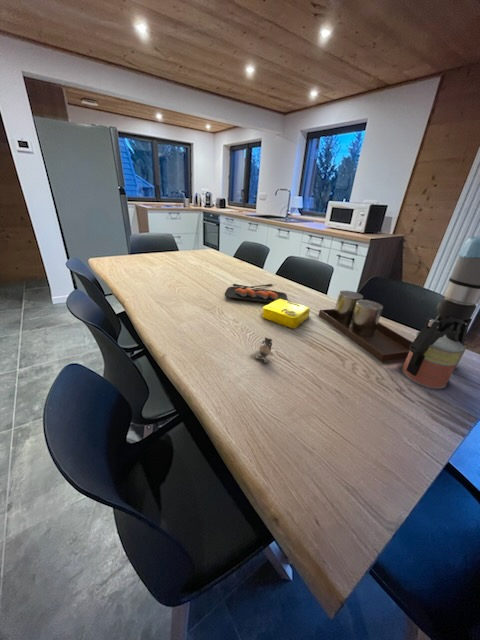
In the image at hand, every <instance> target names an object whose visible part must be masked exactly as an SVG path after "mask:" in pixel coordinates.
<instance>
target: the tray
mask: <svg viewBox="0 0 480 640" xmlns="http://www.w3.org/2000/svg"><path fill="white" fill-rule="evenodd" d="M334 311H335V308H327V309H319V311H318V316H319V317H320V318H322V319H323V320H324V321H326V322H327V323H328V324H329V325H331V326H332V327H333V328H335V329H336V330H337V331H339V332H340V333H342V335H344V337H347V338H348V339H349V340H351V341H352V342H353V343H355V344H356V345H357V346H359V348H361V349H363V350H364V351H366V352H367V353H368V354H370V355H371V356H372V357H373V358H375V359H376V360H377V361H379V362H380V363H383V362H384V363H385V362H390V361H396V360H403V359H407V356H408V354H409V351H410V350H409V347H410V346H411V344H412V343H413V341H411V339H408V338H406V337H405V336H404V335H401V334H399V333H398V332H396V331H395V330H393V329H391V328H389V327H388V326H386V325H384V324H382V323H381V322H379V321H378V324H377V327H376V330H375V333H374V335H373V336H372V337H363V336H359V335H356V334H355V333H353V332H352V331H350V330H349V325H348V324H342V323H339V322H338V321H336V320H335V319H333V314H334Z"/></svg>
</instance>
